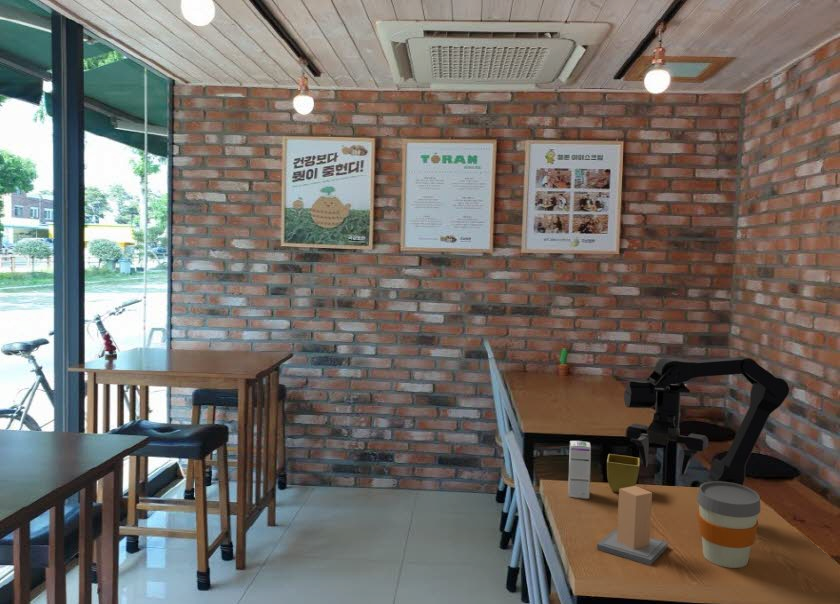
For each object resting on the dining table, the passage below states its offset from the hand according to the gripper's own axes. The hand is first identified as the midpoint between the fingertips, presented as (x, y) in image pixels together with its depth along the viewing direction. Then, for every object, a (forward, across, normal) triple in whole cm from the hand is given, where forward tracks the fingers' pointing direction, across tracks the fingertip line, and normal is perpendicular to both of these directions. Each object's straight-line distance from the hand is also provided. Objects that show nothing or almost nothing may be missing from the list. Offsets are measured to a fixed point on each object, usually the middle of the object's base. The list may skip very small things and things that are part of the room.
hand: (664, 470), depth 165 cm
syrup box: (+13, -24, +4) cm, 28 cm away
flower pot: (+13, -16, +16) cm, 26 cm away
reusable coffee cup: (+13, +18, -12) cm, 25 cm away
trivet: (+13, 0, -21) cm, 25 cm away
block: (+12, 0, -21) cm, 24 cm away
